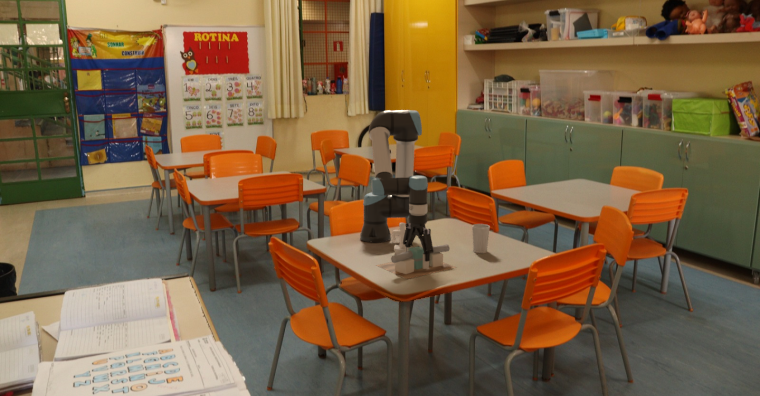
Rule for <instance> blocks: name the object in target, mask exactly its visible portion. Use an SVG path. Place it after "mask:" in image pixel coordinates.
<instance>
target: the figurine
mask: <svg viewBox="0 0 760 396" xmlns="http://www.w3.org/2000/svg"><path fill="white" fill-rule="evenodd" d="M406 224H407V223H405V222H399V224H398V225H399V226H398V227H399V229H393V230H392V232H391V242H392V243H395V242H396V237H399V244H394V246H393V251H394V253H395V255H397V254H400V253H404V252H406V246H405V244H403V239H404V234H405V230H406Z"/></svg>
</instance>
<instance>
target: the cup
mask: <svg viewBox="0 0 760 396" xmlns="http://www.w3.org/2000/svg"><path fill="white" fill-rule="evenodd" d="M471 228H472V231H471V232H472V246H473V247H472V248H473V249H472V252H473V253H477V254H485V253H486V254H487V253H488V244H489V238H490V237H489V235H490V228H491V226H490V225H488V224H484V223H476V224H472V225H471Z"/></svg>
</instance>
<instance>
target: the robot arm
mask: <svg viewBox="0 0 760 396" xmlns="http://www.w3.org/2000/svg"><path fill="white" fill-rule="evenodd" d="M422 133H423V127H422V118H421V116H420V113H419V111H417V110H414V109H413V110H410V109H406V110H405V109H404V110H403V109H401V110H397V109H396V110H390V109H389V110H388V109H387V110H383V111H381V112H378V114H376V115H375V116H374V118H373V119H372V120H371V122H370V123H369V127H368V137H369V139H370V141H371V147H372V159H373V167H374V177H373V178H372V179H371V180H370V181H371V182H370V187H371V192H368V193H366V194H365V195H364V196H363V203H362V205H363V225H362V227H361V232H360V235H359V238H360V240H361V241H363V242H365V243H384V242H389V241H390V240H392V233H391V231H390V228H389V225H388V219H401V218H402V219H403V218H404V219H408V223H406V227H405V234H404V239H403V244H405V246H406V252H407V251H409V248H413V247H414V246H413V243H414V241H415V239H416V236H417V238H418V239H419V241H420V244H421V247H422V248H423V250H424V253H423V269H427V268H429V260H430V253H433V240H432V236H431V234H432V231H431V228H427V227H426V224H427V223H428V214H427V213H428V186H429V183H428V178H427V177H426V176H424V175H414V168H415V167H414V163H415V143H416V142H417V141H418V140H419V136H421V135H422ZM390 136H393V140H394V141H395V142H396V148H395V149H396V150H395V177H394V176H393V169H392V159H391V151H390V150H391V149H390V143H389V138H390ZM426 250H427V251H426Z"/></svg>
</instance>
